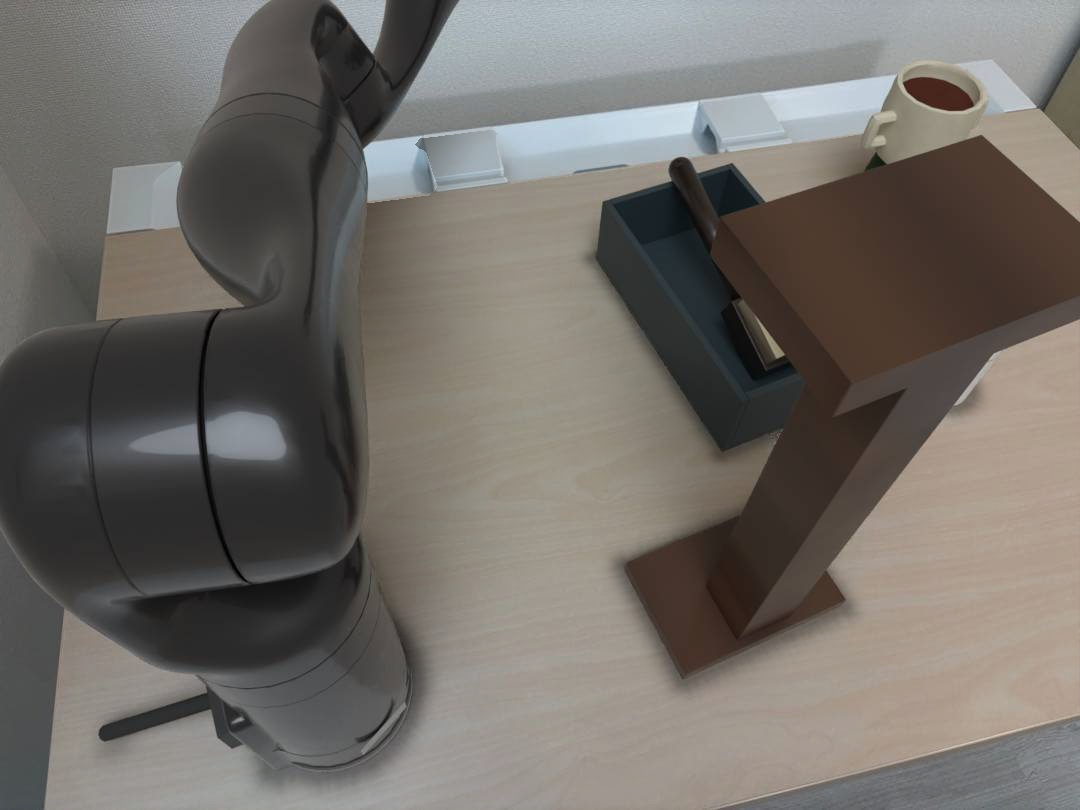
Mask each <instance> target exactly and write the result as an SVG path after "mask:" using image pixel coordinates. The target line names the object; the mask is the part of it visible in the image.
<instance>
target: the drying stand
mask: <svg viewBox="0 0 1080 810" xmlns="http://www.w3.org/2000/svg"><path fill="white" fill-rule="evenodd" d="M863 171H864V170H863ZM863 171H861V172H857V173H855V174H852V175H849V176H846V177H842V178H839V179H835V180H833V181H830V182H826V183H824V184H819V185H817V186H813V187H811V188H807V189H804V190H801V191H798V192H795V193H794V192H793V193H791V194H788V195H785V196H782V197H779V198H775V199H772V200H769V201H765V202H766V203H762V204H759V205H756V206H753V207H750V208H746V209H743V210H740V211H737V212H734V213H730V214H727V215H724V216H721V217H720V219H719V223H718V227H717V230H716V234H715V238H714V242H713V245H712V249H711V253H710V256H711V258H712V259H713V260H714V262H715V263H716V264H717V266H718V267H719V268H720V270H721V271H722V272H723V274H724V275H725V276H726V278H727V279H728V280H729V282H730V283H731V284H732V285H733V287H734V288H735V289H736V291H737V292H738V293H739V295H740V296H741V297H742V299H743V300H744V301H745V303H746V304H747V305H748V307H749V308H750V309H751V311H752V312H753V313H754V315H755V316H756V317H757V318H758V320H759V321H760V322H761V324H762V325H763V326H764V328H765V329H766V330H767V332H768V333H769V334H770V336H771V337H772V338H773V340H774V341H775V342H776V344H777V345H778V346H779V348H780V349H781V350H782V352H783V353H784V354H785V355H786V357H787V358H788V359H789V361H790V362H791V363H792V365H793V366H794V367H795V369H796V370H797V371H798V373H799V374H800V375H801V377H802V378H803V379H804V381H805V382H806V383H805V385H804V387H803V389H802V391H801V393H800V395H799V397H798V399H797V401H796V403H795V405H794V407H793V409H792V411H791V413H790V415H789V417H788V419H787V421H786V423H785V425H784V427H783V428H782V430H781V431H780V434H779V436H778V438H777V440H776V442H775V444H774V445H773V448H772V450H771V452H770V454H769V456H768V458H767V460H766V462H765V464H764V466H763V469H762V470H761V472H760V475H759V476H758V478H757V480H756V482H755V485H754V487H753V489H752V491H751V492H750V495H749V496H748V499H747V500H746V503H745V505H744V507H743V509H742V511H741V513H740V515H738V516H736V517H733V518H731V519H729V520H726V521H724V522H721V523H719V524H717V525H714V526H712V527H709V528H707V529H704V530H701V531H700V532H697V533H695V534H693V535H690V536H688V537H685V538H683V539H681V540H678V541H676V542H674V543H671V544H669V545H667V546H664V547H661V548H659V549H656V550H654V551H651V552H650V553H647V554H645V555H643V556H640V557H637V558H635V559H633V560H631V561H628V562H626V564H625V567H624V572H625V574H626V575H627V577H628V579H629V581H630V583H631V585H632V586H633V588H634V591H635V592H636V594H637V596H638V598H639V600H640V602H641V604H642V605H643V607H644V609H645V611H646V613H647V615H648V617H649V619H650V621H651V622H652V624H653V627H654V628H655V630H656V632H657V634H658V636H659V637H660V639H661V641H662V643H663V645H664V647H665V649H666V651H667V653H668V654H669V656H670V658H671V660H672V662H673V664H674V666H675V668H676V669H677V671H678V673H679V676H680V678H681V679H682V680H686V679H687V678H689V677H690V678H691V677H692V676H694V675H696V674H698V673H701V672H703V671H705V670H707V669H709V668H711V667H713V666H715V665H718V664H720V663H722V662H725V661H727V660H729V659H730V658H733V657H735V656H737V655H739V654H741V653H743V652H746V651H748V650H750V649H752V648H754V647H756V646H759V645H760V644H763V643H765V642H768V641H769V640H772V639H773V638H775V637H778V636H780V635H782V634H784V633H787V632H789V631H790V630H793V629H795V628H797V627H799V626H801V625H804V624H805V623H809V622H811V621H812V620H814V619H817V618H818V617H820V616H824V615H825V614H828V613H829V612H831V611H834V610H836V609H838V608H840V607H842V605H843V604H844V603H845V602H846V601H847V599H846V598H845V596H844V595H843V593H842V592H841V590H840V588H839V587H838V586H837V583H836V582H835V581H834V579H833V578H832V576H831V575H830V573H829V572H828V571H827V570H828V569H829V567H830V566H831V564H833V562H834V561H835V560H836V558H837V557H838V555H840V553H841V551H842V550H843V549H844V548H845V547H846V546H847V544H848V543H849V542H850V540H851V539H852V538H853V536H854V535H855V534H856V532H857V531H858V530H859V529H860V527H861V526H862V524H864V522H865V521H866V520H867V518H868V517H869V516H870V515H871V513H872V512H873V511H874V509H875V508H876V506H877V505H878V504H879V503H880V501H881V500H882V499H883V497H884V496H885V495H886V493H887V492H888V491H889V489H890V488H891V487H892V486H893V485H894V483H895V482H896V481H897V479H898V478H900V476H901V474H903V472H904V470H905V469H906V468H907V467H908V465H909V464H910V463H911V462H912V460H913V459H914V457H915V456H916V455H917V453H918V452H919V451H920V450H921V448H923V446H924V444H925V443H926V442H927V441H928V439H929V438H930V437H931V435H932V434H933V433H934V432H935V431H936V429H937V427H938V426H939V425H940V424H941V422H942V421H943V420H944V418H945V417H947V415H948V413H949V412H950V411H951V409H952V408H953V407H955V406H954V404H955V403H956V402H957V400H958V399H959V398H960V396H961V395H962V394H963V393H964V391H965V390H966V389H967V387H968V386H969V385H970V384H971V382H972V381H973V380H974V378H975V377H976V376H977V374H978V373H979V372H980V371H981V369H982V368H983V367H984V365H985V364H986V363H987V362H988V360H989V359H990V358H991V356H992V355H993V354H994V353H996V352H999V351H1001V350H1003V351H1004V350H1006V349H1008V348H1012V347H1014V346H1017V345H1018V344H1021V343H1024V342H1027V341H1029V340H1032V339H1034V338H1036V337H1039V336H1042V335H1044V334H1046V333H1049V332H1052V331H1054V330H1056V329H1057V330H1058V329H1059V328H1061V327H1064V326H1066V325H1069V324H1072V323H1074V322H1076V321H1079V320H1080V221H1079V220H1078V218H1076V217H1075V216H1074V215H1073V214H1071V212H1069V210H1067V209H1066V208H1065V207H1063V206H1062V205H1061V204H1060V203H1059V201H1057V200H1056V199H1055V198H1053V196H1051V195H1050V194H1049V193H1048V192H1047V191H1046V190H1044V189H1043V187H1041V186H1040V185H1039V184H1038V183H1036V182H1035V180H1034V179H1032V178H1031V177H1030V176H1029V175H1028V174H1027V173H1026V172H1024V171H1023V170H1022V169H1021V168H1020V167H1019V166H1018V165H1017V164H1015V163H1014V162H1013V161H1012V160H1011V159H1010V158H1009V157H1008V156H1006V155H1005V154H1004V153H1003V152H1002V151H1001V150H1000V149H998V148H997V147H996V146H995V145H994V144H993V143H992V142H991V141H990V140H988V139H987V138H986V137H985V136H984V135H982V134H980V135H977V136H973V137H969V138H967V139H966V140H963V141H960V142H957V143H954V144H950V145H947V146H944V147H941V148H938V149H935V150H931V151H928V152H925V153H922V154H919V155H915V156H912V157H909V158H906V159H903V160H899V161H896V162H893V163H890V164H887V165H883V166H880V167H877V168H874V169H871V170H868V171H864V172H863Z"/></svg>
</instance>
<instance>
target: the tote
mask: <svg viewBox="0 0 1080 810" xmlns="http://www.w3.org/2000/svg"><path fill="white" fill-rule="evenodd" d="M697 174H698V176H699V178H700V180H701V182H702V184H703V186H704V188H705V190H706V192H707V194H708V196H709V198H710V200H711V202H712V204H713V206H714V208H715V210H716V212H717V214H718V216H719V218H720V217H721V216H724V215H727V214H730V213H734V212H737V211H740V210H743V209H746V208H750V207H753V206H756V205H759V204H762V203H766V202H767V201H765V199H764V198H763V197H762V196H761V195H760V194H759V192H758V191H757V190H756V188H754V187H753V185H752V183H750V182H749V181H748V179H747V178H746V177H745V176H744V174H743V173H742V172H741V171H740V170H739V168H737V166H736V165H735V164H734V163H733V162H730V163H727V164H724V165H720V166H718V167H714V168H711V169H708V170H704V171H701V172H697ZM599 221H600V222H599V229H598V230H599V231H598V237H597V249H596V258H595V259H596V262H597V263H598V264H599V265H600V267H601V269H602V270H603V272H604V273H605V275H606V277H607V278H608V279H609V281H610V282H611V284H612V286H613V287H614V289H615V290H616V292H617V293H618V294H619V296H620V299H622V301H623V302H624V304H625V306H626V307H627V309H628V310H629V311H630V313H631V314H632V316H633V318H634V319H635V321H636V322H637V324H638V325H639V327H640V328H641V330H642V332H643V333H644V335H645V336H646V338H647V339H648V340H649V342H650V344H651V345H652V347H653V349H654V350H655V351H656V353H657V355H658V356H659V358H660V359H661V361H662V362H663V364H664V365H665V367H666V368H667V370H668V371H669V373H670V374H671V376H672V378H673V379H674V380H675V381H676V384H677V385H678V387H679V388H680V391H682V392H683V395H684V396H685V398H686V399H687V401H688V402H689V403H690V405H691V406H692V408H693V410H694V411H695V413H696V414H697V416H698V417H699V419H700V420H701V422H702V423H703V425H704V427H705V428H706V430H707V431H708V432H709V434H710V435H711V437H712V438H713V440H714V441H715V443H716V444H717V446H718V448H719V450H720V451H721V452H725V451H728V450H730V449H732V448H736V447H737V446H740V445H742V444H745V443H748V442H751V441H753V440H755V439H759V438H761V437H763V436H766V435H768V434H771V433H773V432H775V431H778V430H781V429H783V427H784V425H785V423H786V421H787V419H788V417H789V415H790V413H791V411H792V409H793V407H794V405H795V403H796V401H797V399H798V397H799V395H800V393H801V391H802V389H803V387H804V385H805V383H806V382H805V381H804V379H803V378H802V377H801V375H800V374H799V373H798V371H797V370H796V369H795V367H794V366H793V365H791V366H788V367H786V368H783V369H781V370H779V371H776V372H774V373H771V374H769V375H766V376H764V377H761V378H759V379H756V380H753V379H752V377H751V375H750V373H749V371H748V369H747V367H746V365H745V363H744V361H743V358H742V356H741V354H740V352H739V350H738V348H737V346H736V344H735V342H734V340H733V338H732V336H731V334H730V332H729V330H728V328H727V326H726V324H725V322H724V320H723V318H722V316H721V314H720V312H721V311H722V310H723V309H724V308H725V307H726V306H727V305H728V304H729V303H730V302H732V301H731V299H730V296H729V294H728V292H727V290H726V288H725V286H724V284H723V282H722V280H721V278H720V276H719V274H718V272H717V270H716V268H715V266H714V264H713V262H712V260H711V258H710V256H709V254H708V252H707V250H706V248H705V246H704V244H703V242H702V240H701V238H700V236H699V234H698V232H697V230H696V228H695V226H694V224H693V222H692V220H691V218H690V216H689V214H688V212H687V210H686V208H685V206H684V204H683V202H682V200H681V198H680V196H679V194H678V192H677V190H676V188H675V186H674V184H673V181H672V180H670V181H667V182H663V183H660V184H657V185H653V186H650V187H646V188H642V189H639V190H636V191H633V192H630V193H626V194H622V195H619V196H616V197H612V198H609V199H606V200H603V201H602V203H601V213H600V220H599Z"/></svg>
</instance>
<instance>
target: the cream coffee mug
mask: <svg viewBox="0 0 1080 810" xmlns="http://www.w3.org/2000/svg"><path fill="white" fill-rule="evenodd" d="M987 93H988V90H987V88H986V87H985V85H984V83H983V82H982V80H981V79H980V78H979V77H977V76H976V75H974V74H973V73H972V72H971V71H969V69H968V70H967V69H965V68H963V67H960V66H958V65H957V64H954V63H950V62H947V61H942V60H937V59H920V60H914V61H911V62H910V63H907V64H905V65H903V67H902V68H901V69H900V71H899V72H898V73H897V74H896V76H895V78H894V79H893V82H892V85H891V87H890V89H889V91H888V93H887V96H886V97H885V99H884V100H883V103H882V105H881V109H880V111H879V112H876V113H874V114H872V115H871V117H870V118H869V120H868V122H867V124H866V126H865V129H864V131H863V134H862V136H861V138H860V148H862V149H865V150H866V149H867V150H872V149H874V150H875V153H874V154H873V156H872V157H871V159H870V161H869V162H868V163H867V165H866V167H865V168H864V170H863V171H862V172H864V171H868V170H871V169H874V168H877V167H880V166H883V165H887V164H890V163H893V162H896V161H899V160H903V159H906V158H909V157H912V156H915V155H919V154H922V153H925V152H928V151H931V150H935V149H938V148H941V147H944V146H947V145H950V144H954V143H957V142H960V141H963V140H966V139H968V137H969V135H970V133H971V131H972V130H974V129H975V128H976V127H977V125H978V124H979V122H980V121H981V119H982V117H983V115H984V113H985V111H986V109H987V108H988V106H989V104H990V103H989V102H990V96H989V95H988V94H987Z"/></svg>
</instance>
